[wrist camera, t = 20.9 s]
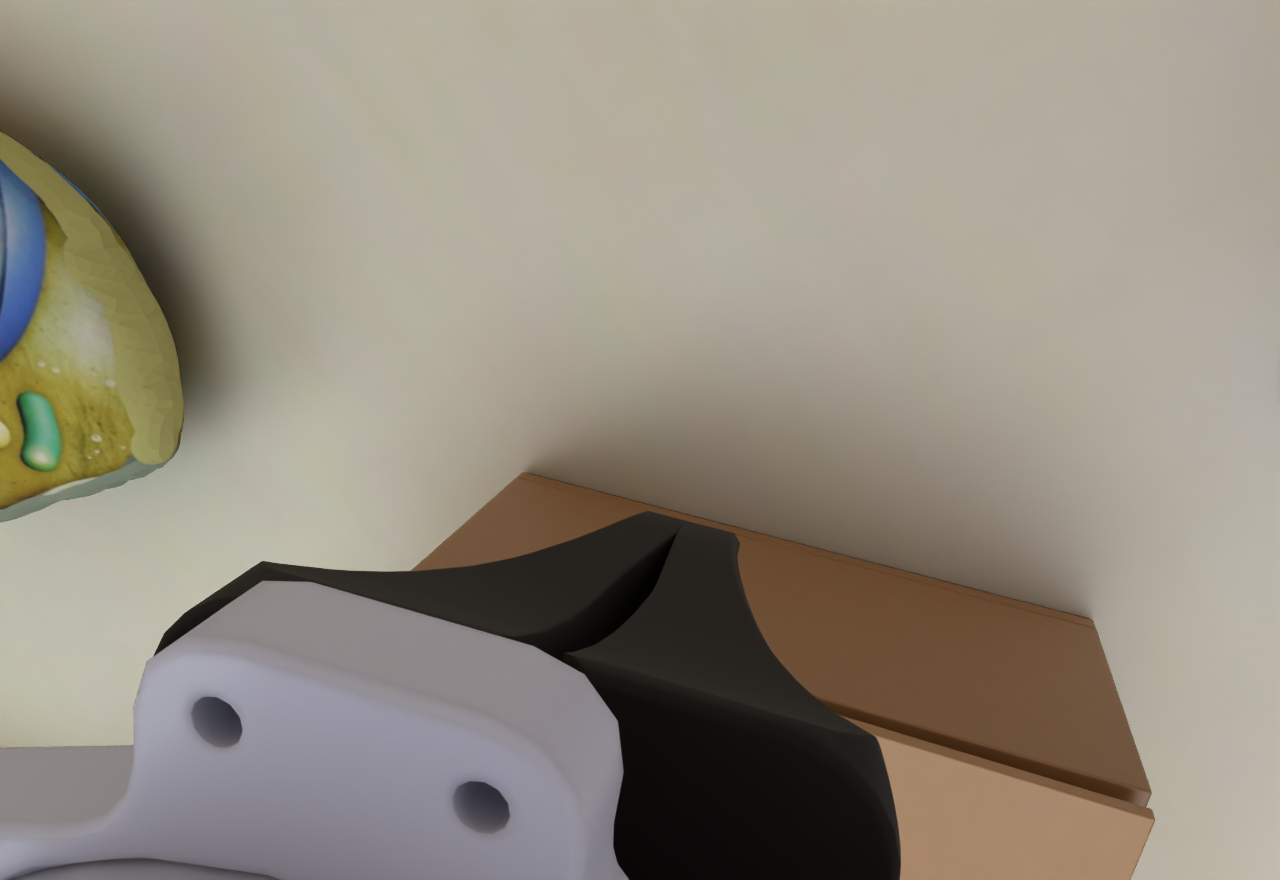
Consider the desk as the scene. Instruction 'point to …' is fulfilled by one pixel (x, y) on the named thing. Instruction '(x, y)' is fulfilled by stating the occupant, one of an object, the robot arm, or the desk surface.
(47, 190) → the cell model
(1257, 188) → the desk surface
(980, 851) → the flap
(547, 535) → the carton
